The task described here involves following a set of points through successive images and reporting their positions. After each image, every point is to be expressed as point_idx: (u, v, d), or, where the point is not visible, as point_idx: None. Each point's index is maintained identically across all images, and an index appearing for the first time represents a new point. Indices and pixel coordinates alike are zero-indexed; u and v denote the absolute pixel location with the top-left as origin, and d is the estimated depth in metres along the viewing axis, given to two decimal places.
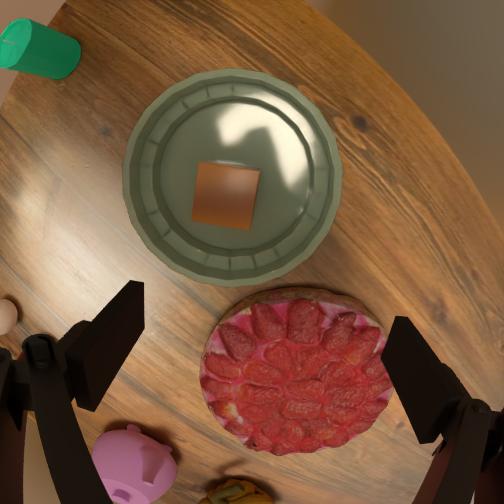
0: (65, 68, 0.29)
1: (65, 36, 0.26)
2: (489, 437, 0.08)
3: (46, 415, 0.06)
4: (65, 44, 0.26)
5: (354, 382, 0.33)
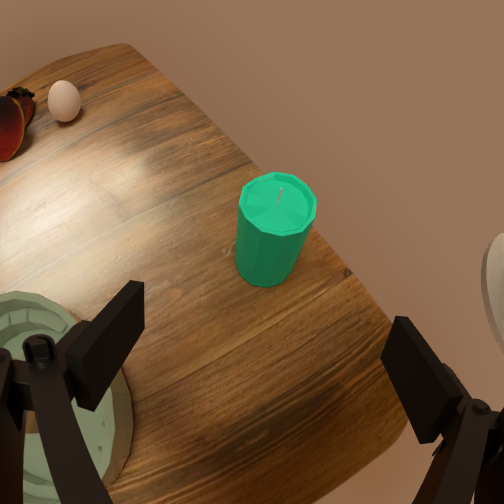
0: (239, 263, 0.31)
1: (281, 273, 0.30)
2: (489, 437, 0.08)
3: (46, 415, 0.06)
4: (264, 272, 0.29)
5: None
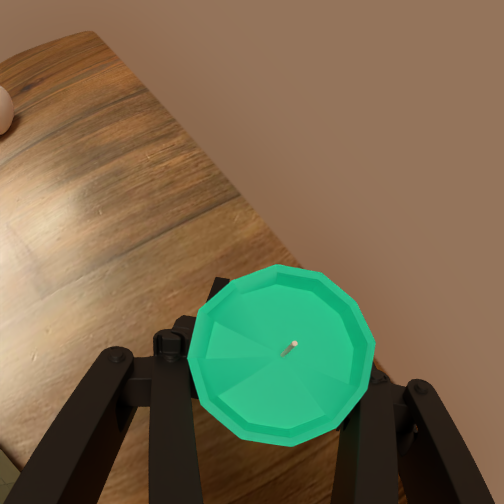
0: None
1: None
2: None
3: (162, 406, 0.08)
4: None
5: None
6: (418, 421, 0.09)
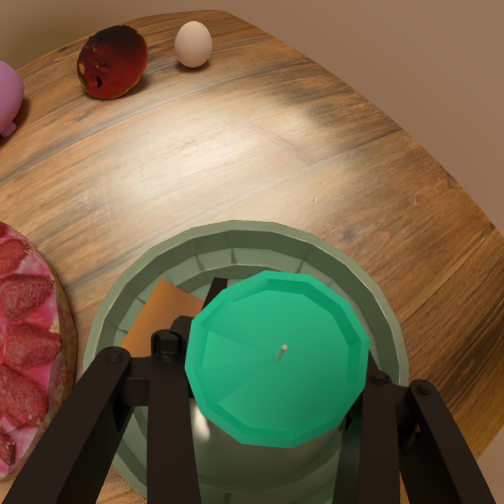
0: None
1: None
2: None
3: (160, 406, 0.08)
4: None
5: None
6: (420, 421, 0.09)
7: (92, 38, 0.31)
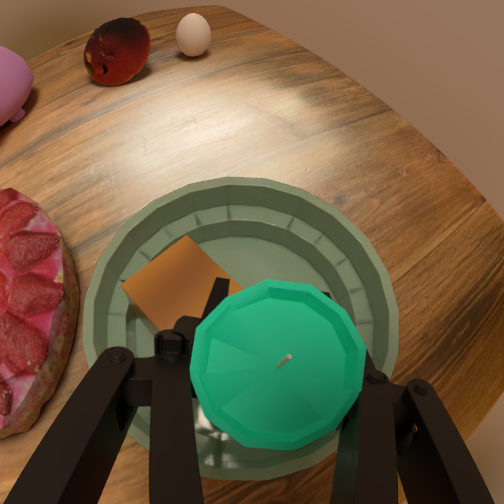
0: None
1: None
2: None
3: (163, 406, 0.08)
4: None
5: None
6: (417, 421, 0.09)
7: (98, 29, 0.33)
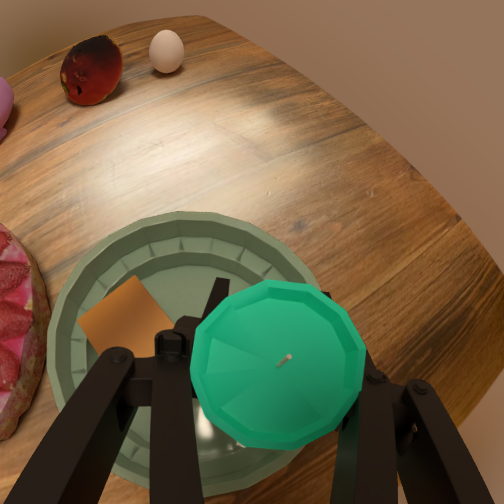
0: None
1: None
2: None
3: (163, 406, 0.08)
4: None
5: None
6: (417, 421, 0.09)
7: (73, 49, 0.33)
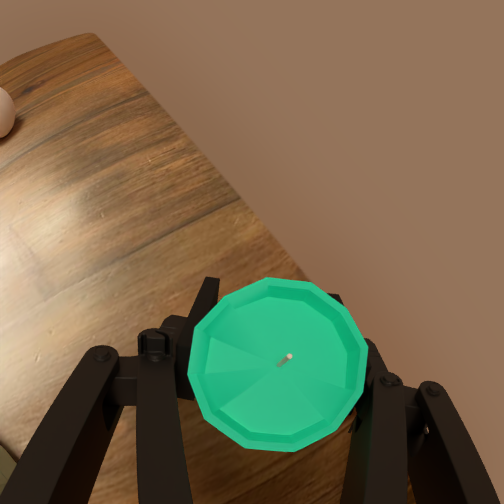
0: None
1: None
2: None
3: (148, 406, 0.08)
4: None
5: None
6: (429, 422, 0.08)
7: None
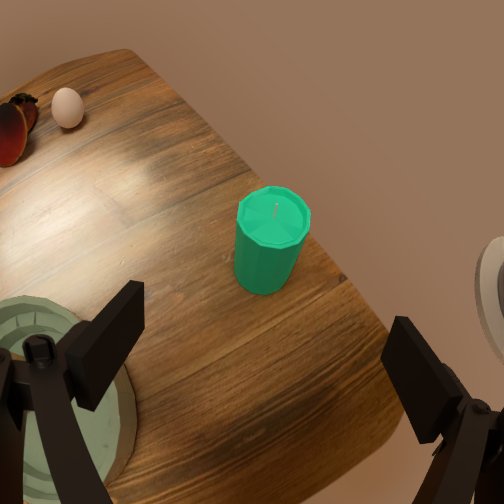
0: (238, 274, 0.32)
1: (279, 280, 0.31)
2: (489, 437, 0.08)
3: (46, 415, 0.06)
4: (263, 281, 0.30)
5: None
6: None
7: None
